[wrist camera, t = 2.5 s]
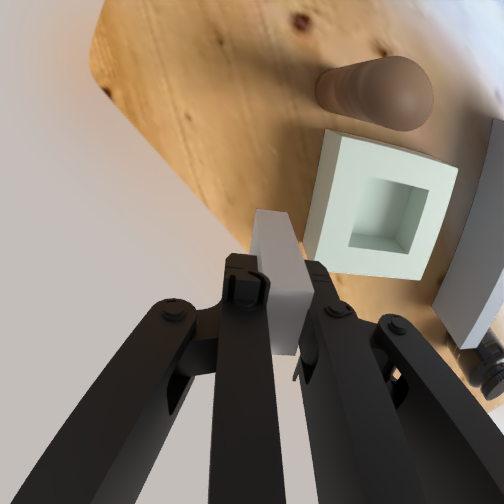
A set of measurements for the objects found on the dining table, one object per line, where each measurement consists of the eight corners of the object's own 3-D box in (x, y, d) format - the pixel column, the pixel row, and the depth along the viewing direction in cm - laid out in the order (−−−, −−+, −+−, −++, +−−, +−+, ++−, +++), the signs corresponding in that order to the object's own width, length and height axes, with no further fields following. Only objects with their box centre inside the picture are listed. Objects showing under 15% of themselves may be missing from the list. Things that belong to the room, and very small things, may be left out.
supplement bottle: (436, 340, 38) (471, 404, 27) (467, 305, 35) (511, 365, 24) (458, 350, 39) (491, 407, 29) (487, 318, 37) (526, 372, 26)
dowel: (318, 64, 22) (371, 45, 12) (362, 75, 23) (438, 71, 12) (311, 108, 24) (359, 120, 14) (355, 118, 25) (426, 140, 14)
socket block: (325, 128, 25) (342, 136, 21) (429, 155, 26) (458, 168, 21) (302, 242, 30) (311, 270, 26) (400, 254, 31) (420, 280, 27)
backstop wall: (493, 118, 23) (545, 133, 16) (509, 127, 24) (559, 144, 17) (431, 306, 35) (459, 349, 28) (447, 306, 35) (476, 347, 28)
